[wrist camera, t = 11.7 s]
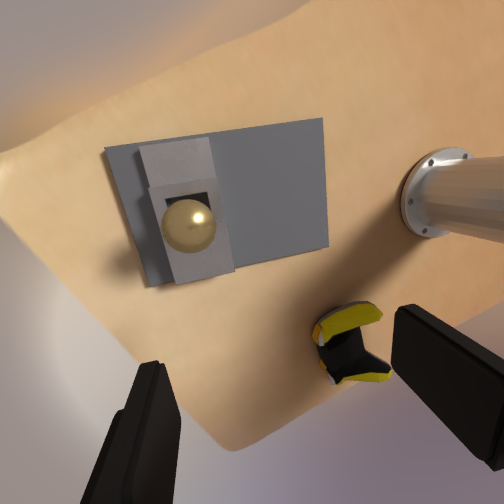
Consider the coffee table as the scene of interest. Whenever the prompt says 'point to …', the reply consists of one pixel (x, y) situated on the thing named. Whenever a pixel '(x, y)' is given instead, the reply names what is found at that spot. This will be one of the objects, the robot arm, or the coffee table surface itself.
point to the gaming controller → (349, 344)
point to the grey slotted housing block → (185, 183)
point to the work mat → (240, 193)
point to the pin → (188, 226)
